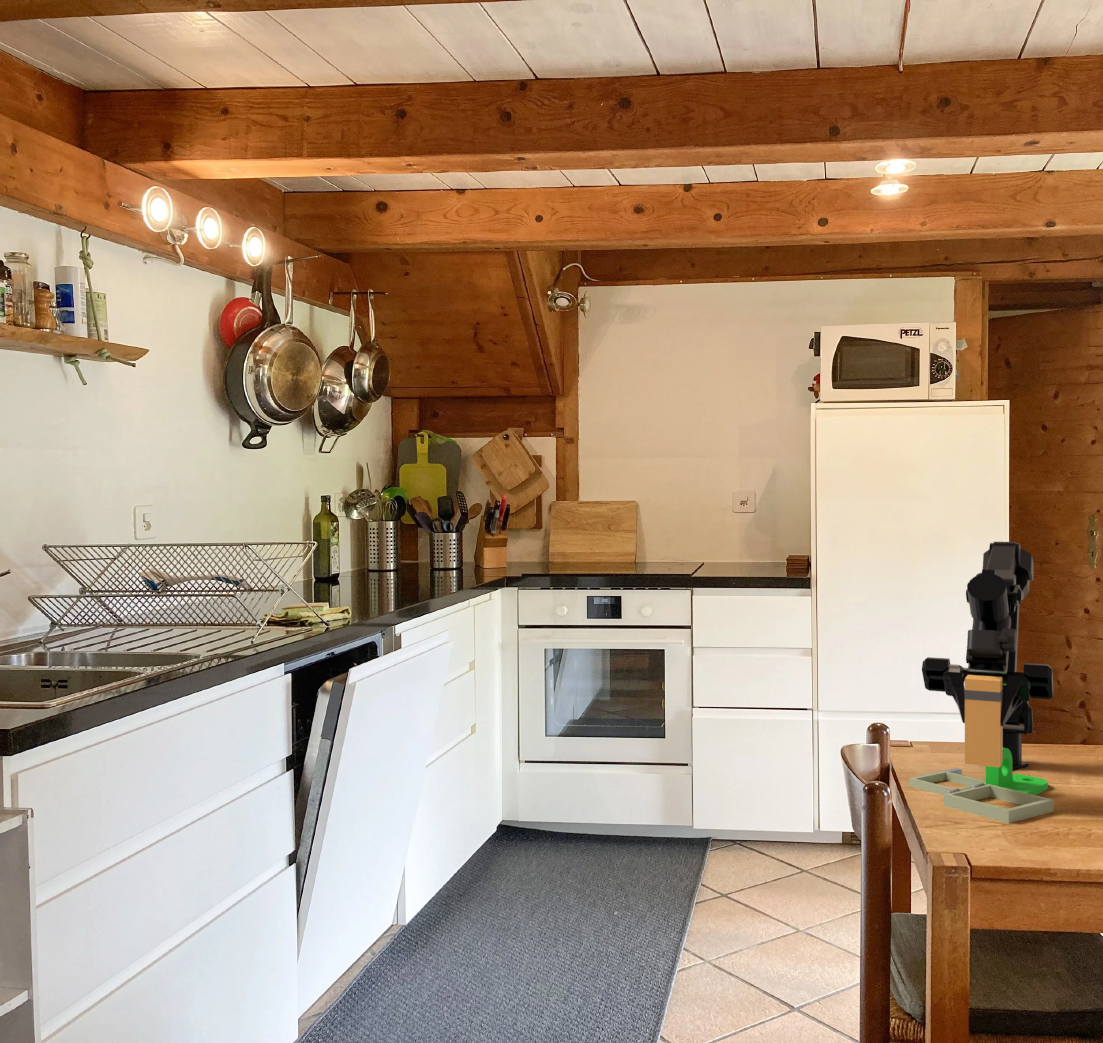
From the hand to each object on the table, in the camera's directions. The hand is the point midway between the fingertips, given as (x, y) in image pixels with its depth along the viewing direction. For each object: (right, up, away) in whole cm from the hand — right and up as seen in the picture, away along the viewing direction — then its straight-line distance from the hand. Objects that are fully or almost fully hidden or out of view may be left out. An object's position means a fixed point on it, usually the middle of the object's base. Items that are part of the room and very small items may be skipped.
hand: (982, 723), depth 163 cm
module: (+1, -6, +1) cm, 7 cm away
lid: (-1, -13, +11) cm, 17 cm away
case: (+2, -13, -1) cm, 14 cm away
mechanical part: (+10, -14, +10) cm, 19 cm away
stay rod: (+1, -13, +19) cm, 23 cm away
